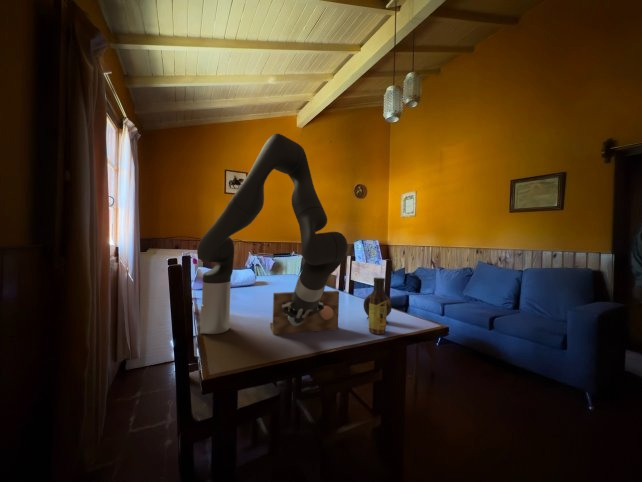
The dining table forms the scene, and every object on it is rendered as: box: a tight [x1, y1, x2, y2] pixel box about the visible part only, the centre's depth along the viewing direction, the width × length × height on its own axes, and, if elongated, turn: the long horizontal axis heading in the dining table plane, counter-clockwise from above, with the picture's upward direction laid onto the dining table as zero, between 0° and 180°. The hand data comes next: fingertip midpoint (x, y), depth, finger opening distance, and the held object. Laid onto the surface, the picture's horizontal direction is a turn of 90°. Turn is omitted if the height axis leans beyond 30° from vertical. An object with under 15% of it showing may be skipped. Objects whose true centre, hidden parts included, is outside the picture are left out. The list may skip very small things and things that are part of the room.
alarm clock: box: [363, 293, 393, 324], centre depth 111 cm, size 11×5×16 cm, turn 58°
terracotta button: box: [319, 305, 333, 320], centre depth 99 cm, size 10×4×4 cm, turn 18°
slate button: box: [288, 316, 302, 326], centre depth 91 cm, size 10×4×4 cm, turn 18°
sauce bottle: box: [368, 277, 387, 335], centre depth 98 cm, size 7×6×20 cm
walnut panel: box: [269, 290, 340, 335], centre depth 100 cm, size 24×8×14 cm, turn 108°
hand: (297, 320), depth 84 cm, fingers closed
